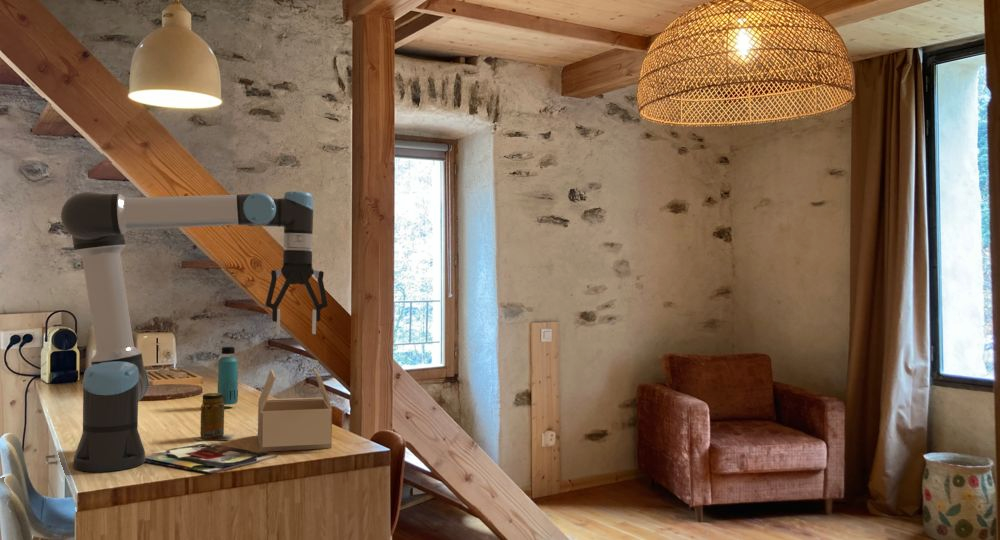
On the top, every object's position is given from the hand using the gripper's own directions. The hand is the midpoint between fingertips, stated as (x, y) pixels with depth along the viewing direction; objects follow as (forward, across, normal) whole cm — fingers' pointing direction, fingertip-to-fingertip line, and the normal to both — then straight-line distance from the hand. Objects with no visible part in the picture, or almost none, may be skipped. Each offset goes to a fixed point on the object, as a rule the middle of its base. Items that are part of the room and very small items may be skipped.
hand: (296, 333), depth 210 cm
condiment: (+30, -20, +11) cm, 37 cm away
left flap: (+19, -9, 0) cm, 21 cm away
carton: (+29, 0, 0) cm, 29 cm away
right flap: (+19, +9, 0) cm, 21 cm away
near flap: (+19, 0, -8) cm, 21 cm away
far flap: (+19, 0, +8) cm, 21 cm away
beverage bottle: (+30, -17, +56) cm, 66 cm away
